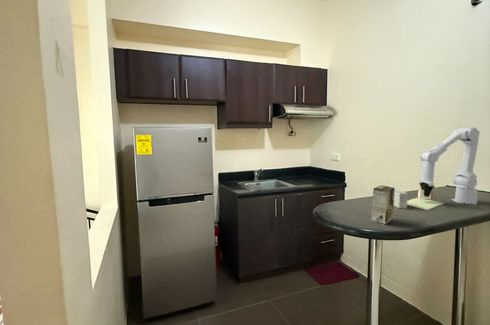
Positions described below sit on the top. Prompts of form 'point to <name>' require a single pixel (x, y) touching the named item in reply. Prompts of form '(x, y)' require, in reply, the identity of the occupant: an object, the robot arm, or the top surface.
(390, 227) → the top surface
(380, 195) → the coffee box
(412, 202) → the sage mat
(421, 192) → the card deck
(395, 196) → the medicine box
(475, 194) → the robot arm
